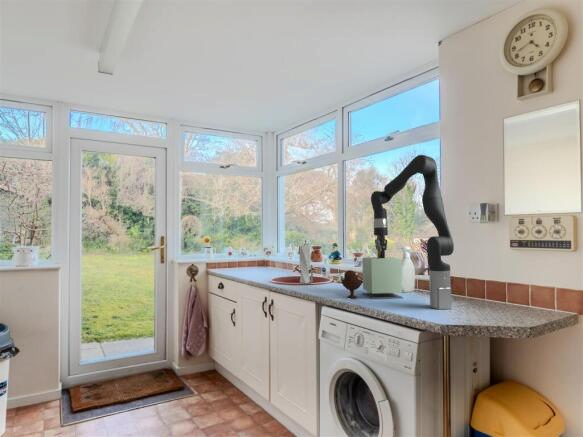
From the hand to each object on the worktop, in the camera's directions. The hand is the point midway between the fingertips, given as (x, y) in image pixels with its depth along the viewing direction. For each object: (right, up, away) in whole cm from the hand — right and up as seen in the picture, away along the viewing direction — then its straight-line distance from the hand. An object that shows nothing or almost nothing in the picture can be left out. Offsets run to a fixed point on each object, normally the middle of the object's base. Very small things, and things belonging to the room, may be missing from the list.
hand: (381, 257), depth 213 cm
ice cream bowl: (-17, -21, -7) cm, 28 cm away
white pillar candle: (-40, -24, +55) cm, 72 cm away
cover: (0, -18, -1) cm, 18 cm away
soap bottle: (+18, -22, +13) cm, 31 cm away
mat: (0, -21, -1) cm, 21 cm away
